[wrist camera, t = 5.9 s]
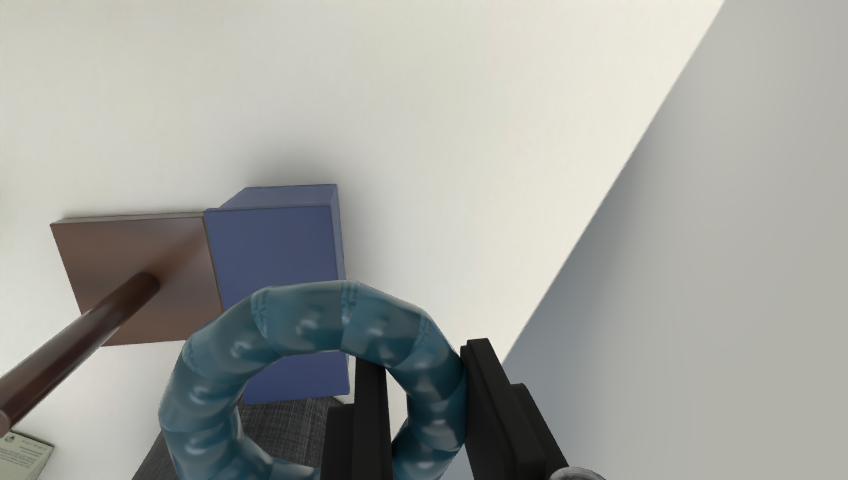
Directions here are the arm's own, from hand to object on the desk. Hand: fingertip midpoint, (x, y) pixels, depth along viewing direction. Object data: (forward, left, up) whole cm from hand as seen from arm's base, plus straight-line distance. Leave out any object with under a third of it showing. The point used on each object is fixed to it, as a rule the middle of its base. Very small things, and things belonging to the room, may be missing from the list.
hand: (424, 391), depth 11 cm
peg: (+4, -17, -19) cm, 25 cm away
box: (+4, -7, -19) cm, 20 cm away
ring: (0, -3, 0) cm, 3 cm away
